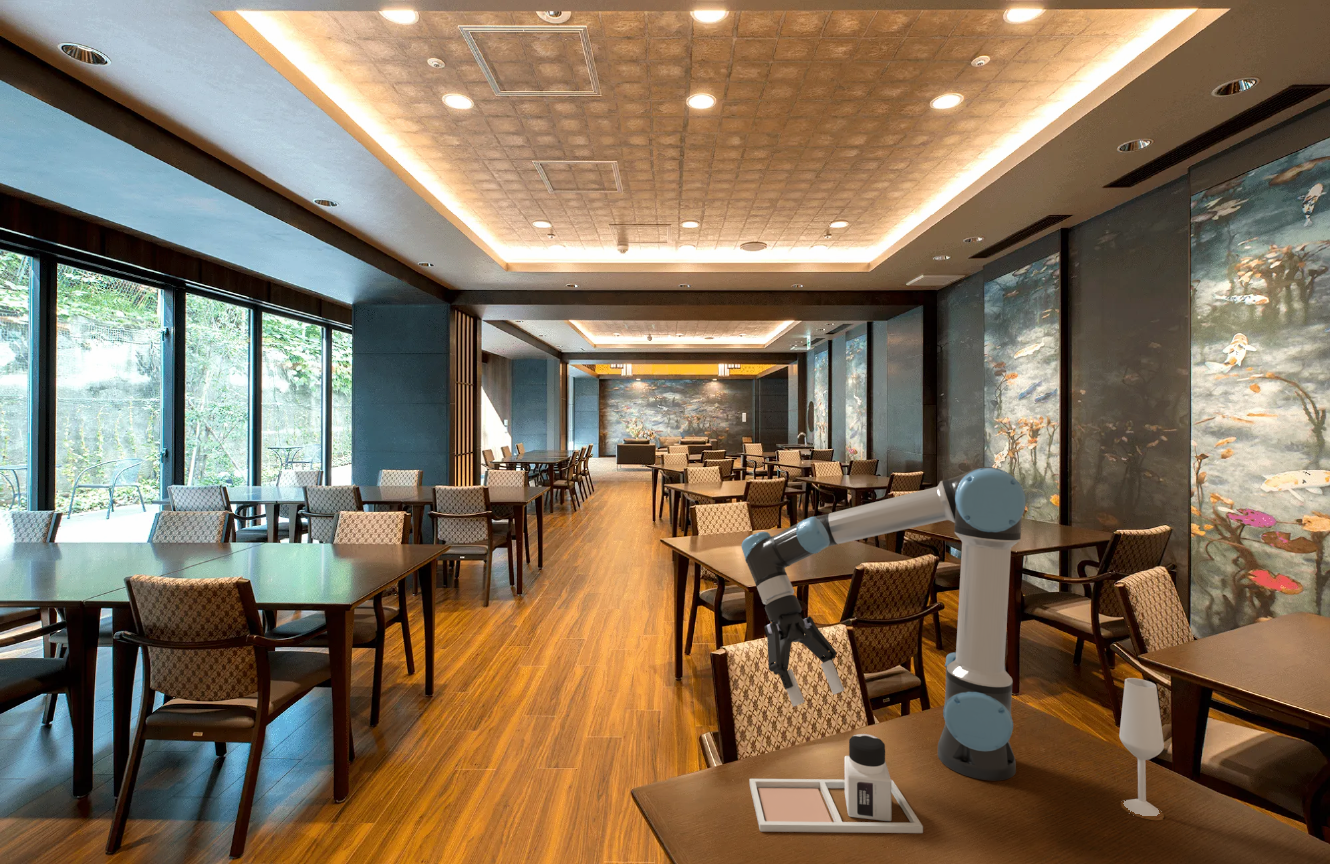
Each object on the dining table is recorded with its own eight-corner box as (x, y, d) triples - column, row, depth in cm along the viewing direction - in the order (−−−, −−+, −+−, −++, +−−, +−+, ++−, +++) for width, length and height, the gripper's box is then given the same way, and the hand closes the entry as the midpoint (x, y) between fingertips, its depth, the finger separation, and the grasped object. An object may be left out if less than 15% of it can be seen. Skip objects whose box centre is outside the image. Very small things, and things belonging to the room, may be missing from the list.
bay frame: (892, 785, 124) (892, 779, 124) (922, 832, 109) (922, 826, 109) (749, 784, 124) (749, 778, 124) (760, 831, 109) (760, 824, 109)
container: (891, 822, 112) (891, 750, 112) (848, 817, 113) (847, 746, 114) (885, 798, 119) (885, 731, 120) (844, 793, 121) (844, 727, 121)
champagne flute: (1167, 825, 111) (1165, 692, 111) (1121, 813, 115) (1120, 684, 115) (1162, 806, 117) (1160, 680, 117) (1118, 795, 120) (1117, 673, 121)
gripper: (802, 602, 146) (841, 693, 136) (729, 611, 130) (767, 715, 120) (825, 589, 142) (867, 682, 131) (752, 597, 126) (793, 704, 116)
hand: (819, 698), depth 126 cm, fingers open, 13 cm apart
